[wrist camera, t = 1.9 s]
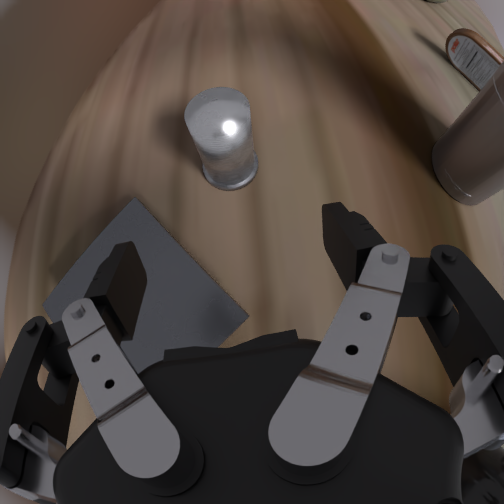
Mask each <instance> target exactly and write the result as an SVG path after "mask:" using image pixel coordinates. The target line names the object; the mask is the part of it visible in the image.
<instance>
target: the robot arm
mask: <svg viewBox="0 0 504 504" xmlns="http://www.w3.org/2000/svg"><path fill="white" fill-rule="evenodd" d="M432 164H433V168H434V171H435V174H436V176H437V178H438V180H439V182H440V183H441V185H442V186H443V188H444V189H445V190H446V191H447V193H448V194H450V195H451V196H452V197H453V198H454V199H456V200H457V201H459V202H460V203H463V204H465V205H477V204H479V203H481V202H482V201H484V200H486V199H487V198H489V197H491V196H492V195H494V194H496V193H497V192H499V191H501V190H502V189H504V61H503V62H502V63H501V65H500V66H499V67H498V69H497V70H496V71H495V73H494V74H493V75H492V77H491V78H490V79H489V80H488V82H487V83H486V84H485V85H484V87H483V88H482V89H481V90H480V92H479V93H478V94H477V95H476V97H475V98H474V99H473V100H472V101H471V103H470V104H469V105H468V106H467V107H466V109H465V110H464V111H463V112H462V113H461V115H460V116H459V117H458V118H457V119H456V120H455V122H454V123H453V124H452V125H451V126H450V127H449V128H448V130H447V131H446V132H445V133H444V134H443V135H442V136H441V138H440V139H439V140H438V141H437V142H436V144H435V145H434V147H433V150H432ZM322 222H323V241H324V246H325V250H326V252H327V254H328V256H329V258H330V260H331V262H332V263H333V265H334V267H335V269H336V271H337V273H338V275H339V277H340V279H341V280H342V282H343V284H344V286H345V288H346V290H347V293H346V295H345V297H344V299H343V301H342V303H341V305H340V307H339V309H338V311H337V313H336V315H335V317H334V319H333V321H332V323H331V325H330V327H329V329H328V331H327V333H326V335H325V337H324V339H323V341H322V342H320V341H316V340H310V339H298V336H297V332H296V329H294V330H289V331H284V332H279V333H273V334H268V335H263V336H260V337H257V338H255V339H252V340H250V341H247V342H244V343H242V344H239V345H236V346H233V347H230V348H215V347H201V346H191V347H183V348H175V349H166V350H164V357H163V360H161V361H158V362H156V363H154V364H152V365H150V366H148V367H147V368H145V369H144V370H142V371H141V372H140V373H138V372H137V370H136V369H135V367H134V366H133V364H132V363H131V361H130V360H129V358H128V357H127V355H126V354H125V352H124V351H123V349H122V348H121V346H120V345H121V341H131V340H133V336H134V332H135V328H136V324H137V320H138V316H139V312H140V308H141V304H142V301H143V297H144V293H145V290H146V286H147V274H146V271H145V268H144V266H143V264H142V261H141V259H140V256H139V254H138V251H137V249H136V246H135V244H134V243H133V242H132V241H128V242H124V243H119V244H116V245H115V246H114V247H113V249H112V251H111V253H110V255H109V257H107V258H106V259H105V260H104V261H103V262H102V263H101V264H100V265H99V267H98V269H97V271H96V274H95V275H94V277H93V281H91V283H90V285H89V287H88V289H87V291H86V293H85V296H84V298H82V299H79V300H76V301H74V302H73V303H71V304H70V305H69V306H68V307H67V308H66V309H65V311H64V312H63V315H62V320H60V321H58V322H55V323H53V324H50V325H49V324H48V322H47V321H46V319H45V318H44V317H42V316H37V317H34V318H32V319H31V320H29V321H28V322H27V323H26V324H25V325H24V326H23V328H22V329H21V331H20V334H19V336H18V338H17V340H16V342H15V344H14V347H13V349H12V351H11V354H10V356H9V358H8V361H7V363H6V366H5V368H4V371H3V373H2V376H1V378H0V484H1V485H2V486H3V487H5V488H6V489H8V490H10V491H12V492H14V493H16V494H18V495H20V496H22V497H24V498H26V499H29V500H33V501H35V502H37V503H40V504H56V503H57V504H463V501H462V495H461V471H462V463H463V459H465V458H467V457H469V456H471V455H473V454H474V453H476V452H478V451H480V450H482V449H485V450H495V449H497V448H499V447H500V446H502V445H503V444H504V300H503V299H502V298H501V296H500V295H499V294H498V293H497V291H496V290H495V289H494V288H493V286H492V285H491V284H490V283H489V281H488V280H487V279H486V278H485V277H484V275H483V274H482V273H481V272H480V271H479V270H478V268H477V267H476V266H475V265H474V264H473V263H472V262H471V260H470V259H469V258H468V257H467V256H466V255H465V254H464V253H463V252H462V251H461V250H460V249H458V248H456V247H454V246H450V245H438V246H435V247H434V248H433V249H432V250H431V255H430V258H413V257H410V255H409V253H408V252H407V251H406V250H405V249H404V248H402V247H400V246H398V245H394V244H387V242H386V241H385V240H384V239H383V238H382V236H381V235H380V234H379V233H378V232H377V231H376V230H375V229H374V227H373V226H372V225H371V224H369V222H368V220H367V219H366V218H365V217H364V216H363V215H361V214H359V213H357V212H355V211H353V212H349V211H348V210H347V209H346V208H345V206H344V205H343V204H342V203H341V202H336V203H329V204H323V206H322ZM453 304H454V305H455V307H456V308H457V310H458V313H459V314H458V313H457V311H456V310H455V308H454V307H453ZM398 317H418V318H419V320H420V322H421V323H422V325H423V327H424V329H425V331H426V333H427V334H428V336H429V338H430V340H431V342H432V344H433V346H434V348H435V350H436V352H437V354H438V356H439V358H440V360H441V362H442V364H443V366H444V368H445V370H446V372H447V374H448V376H449V378H450V380H451V383H452V385H453V387H454V388H453V389H452V391H451V393H450V396H449V404H450V408H451V415H450V414H449V413H448V412H447V411H445V410H444V409H442V408H441V407H439V406H437V405H435V404H433V403H432V402H430V401H428V400H426V399H424V398H422V397H421V396H419V395H417V394H415V393H413V392H412V391H410V390H408V389H406V388H404V387H403V386H401V385H399V384H397V383H396V382H394V381H392V380H390V379H389V378H387V377H385V376H383V375H382V374H381V371H382V368H383V365H384V361H385V358H386V355H387V352H388V349H389V346H390V343H391V339H392V336H393V333H394V329H395V326H396V322H397V318H398ZM41 364H42V365H43V366H44V367H45V368H46V369H47V371H48V372H49V374H48V377H47V381H46V384H45V387H44V391H43V390H42V389H41V388H40V387H39V385H38V381H37V376H38V373H39V370H40V367H41ZM79 380H80V383H81V385H82V387H83V389H84V392H85V394H86V396H87V398H88V401H89V403H90V405H91V407H92V409H93V411H94V413H95V415H96V417H97V418H96V420H95V421H94V422H93V423H92V424H91V425H90V426H89V427H88V428H87V429H86V430H85V431H84V433H83V434H82V435H81V436H80V437H79V438H78V439H77V440H76V441H75V442H74V443H73V444H72V445H71V447H70V448H69V449H68V450H67V449H66V444H67V438H68V432H69V426H70V421H71V415H72V410H73V405H74V400H75V396H76V391H77V387H78V382H79Z"/></svg>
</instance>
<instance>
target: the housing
mask: <svg viewBox="0 0 504 504" xmlns="http://www.w3.org/2000/svg"><path fill="white" fill-rule="evenodd" d="M184 118H185V122H186V125H187V127H188V129H189V132H190V134H191V136H192V139H193V141H194V143H195V146H196V148H197V150H198V153H199V155H200V157H201V160H202V162H203V172H204V174H205V177H206V179H207V180H208V182H209V183H210V184H211V185H212V186H214V187H216V188H218V189H220V190H224V191H234V190H238V189H241V188H243V187H245V186H247V185H248V184H249V183H250V182H251V181H252V180H253V179H254V178H255V176H256V174H257V171H258V158H257V155H256V153H255V151H254V147H253V136H252V125H251V115H250V105H249V102H248V100H247V98H246V97H245V96H244V95H243V94H242V93H241V92H239V91H238V90H235V89H232V88H228V87H216V88H211V89H207V90H205V91H203V92H201V93H199V94H197V95H196V96H195V97H194V98H193V99H192V100H191V101H190V102H189V103H188V105H187V107H186V109H185V114H184Z"/></svg>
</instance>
